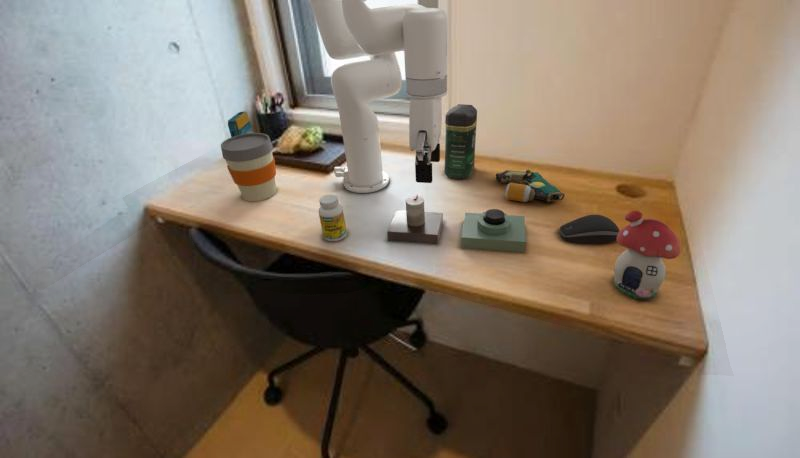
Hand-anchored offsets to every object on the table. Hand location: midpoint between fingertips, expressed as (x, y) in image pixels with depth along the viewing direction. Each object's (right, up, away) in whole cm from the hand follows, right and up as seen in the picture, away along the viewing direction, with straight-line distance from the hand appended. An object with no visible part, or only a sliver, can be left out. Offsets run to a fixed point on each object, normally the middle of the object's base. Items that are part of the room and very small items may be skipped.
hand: (428, 171), depth 84 cm
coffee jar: (+11, +4, +33) cm, 35 cm away
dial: (-2, -10, +8) cm, 13 cm away
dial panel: (-2, -12, +9) cm, 15 cm away
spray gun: (+27, -2, +22) cm, 35 cm away
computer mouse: (+35, -13, +4) cm, 37 cm away
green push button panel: (+14, -13, +6) cm, 21 cm away
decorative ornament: (+36, -22, -10) cm, 44 cm away
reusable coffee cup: (-44, -2, +29) cm, 53 cm away
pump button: (+14, -10, +3) cm, 18 cm away
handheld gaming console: (-53, +9, +47) cm, 72 cm away
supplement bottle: (-20, -13, +10) cm, 26 cm away
